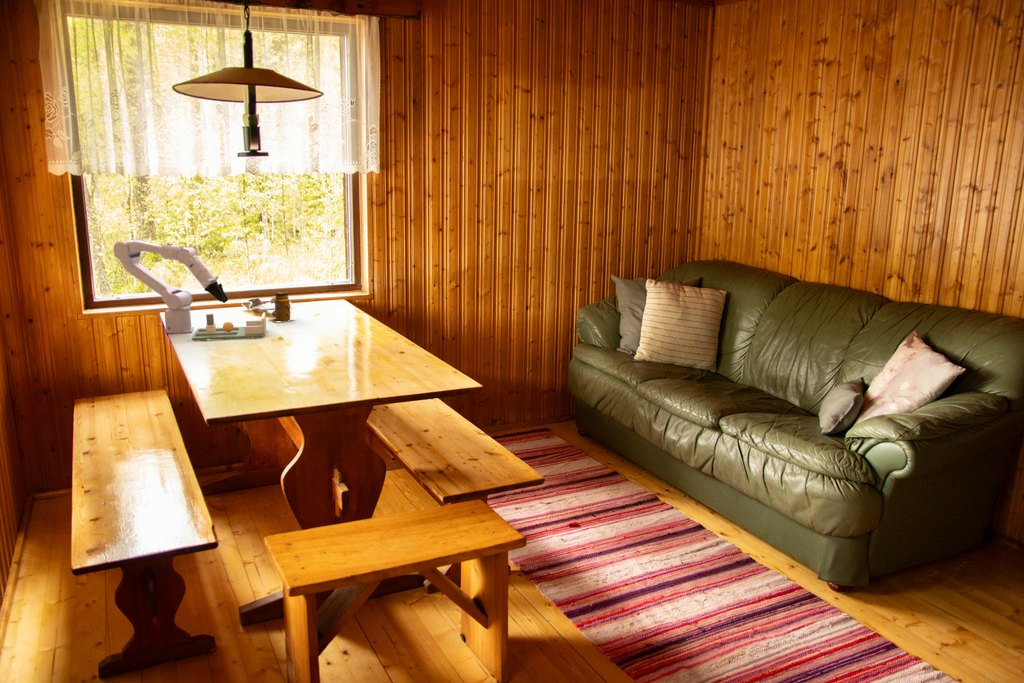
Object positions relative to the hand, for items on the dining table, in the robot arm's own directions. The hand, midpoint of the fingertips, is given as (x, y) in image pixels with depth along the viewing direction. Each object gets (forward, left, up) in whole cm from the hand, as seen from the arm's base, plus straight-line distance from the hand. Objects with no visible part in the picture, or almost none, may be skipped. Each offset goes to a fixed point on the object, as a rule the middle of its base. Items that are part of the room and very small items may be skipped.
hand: (224, 300), depth 321 cm
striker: (-6, -2, -12) cm, 13 cm away
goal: (+11, -2, -12) cm, 17 cm away
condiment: (+20, +21, -13) cm, 33 cm away
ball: (+1, -3, -10) cm, 10 cm away
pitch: (+1, -3, -13) cm, 13 cm away
